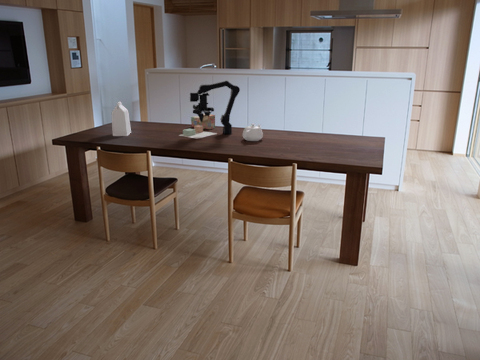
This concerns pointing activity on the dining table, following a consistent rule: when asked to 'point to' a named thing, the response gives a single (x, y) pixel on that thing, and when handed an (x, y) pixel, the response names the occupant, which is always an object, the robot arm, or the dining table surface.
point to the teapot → (252, 133)
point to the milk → (120, 121)
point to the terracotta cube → (198, 128)
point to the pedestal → (189, 132)
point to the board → (199, 135)
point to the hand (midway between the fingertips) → (203, 121)
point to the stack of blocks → (208, 125)
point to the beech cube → (204, 119)
